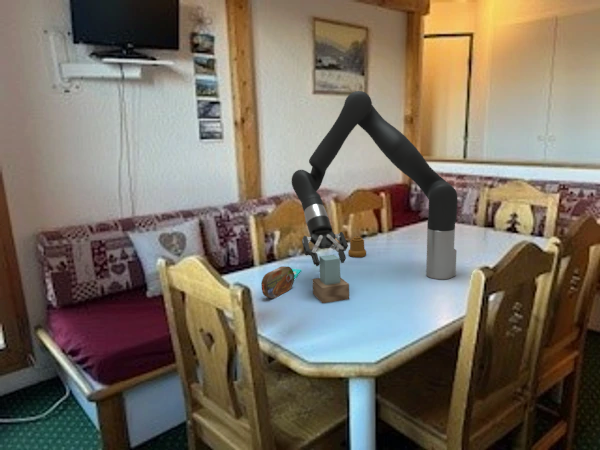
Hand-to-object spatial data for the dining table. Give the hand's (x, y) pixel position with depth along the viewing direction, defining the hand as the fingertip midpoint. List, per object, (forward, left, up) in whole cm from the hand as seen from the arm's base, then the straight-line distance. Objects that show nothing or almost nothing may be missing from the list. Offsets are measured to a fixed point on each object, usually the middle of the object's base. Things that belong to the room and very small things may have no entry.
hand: (330, 263), depth 149 cm
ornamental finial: (-27, -40, -11) cm, 49 cm away
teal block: (0, -1, -6) cm, 6 cm away
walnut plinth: (0, -1, -11) cm, 11 cm away
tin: (+15, -10, -11) cm, 21 cm away
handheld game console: (+9, -25, -12) cm, 29 cm away
